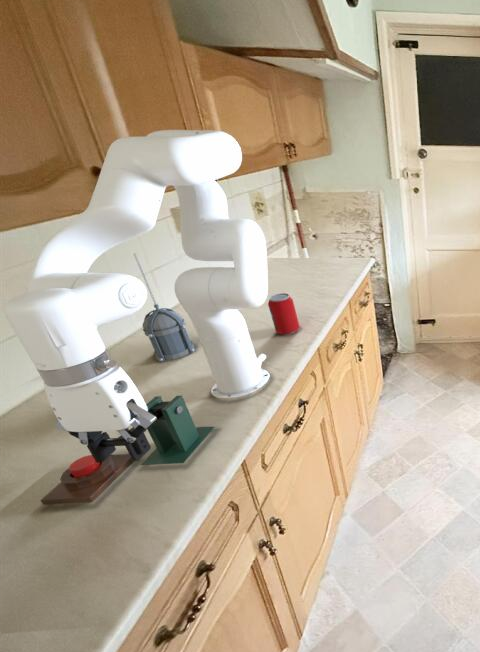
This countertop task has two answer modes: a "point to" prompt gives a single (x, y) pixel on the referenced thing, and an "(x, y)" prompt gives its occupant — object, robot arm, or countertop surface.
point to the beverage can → (283, 313)
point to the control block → (87, 482)
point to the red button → (84, 466)
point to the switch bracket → (174, 433)
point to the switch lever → (121, 440)
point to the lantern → (166, 332)
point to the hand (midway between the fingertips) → (124, 454)
